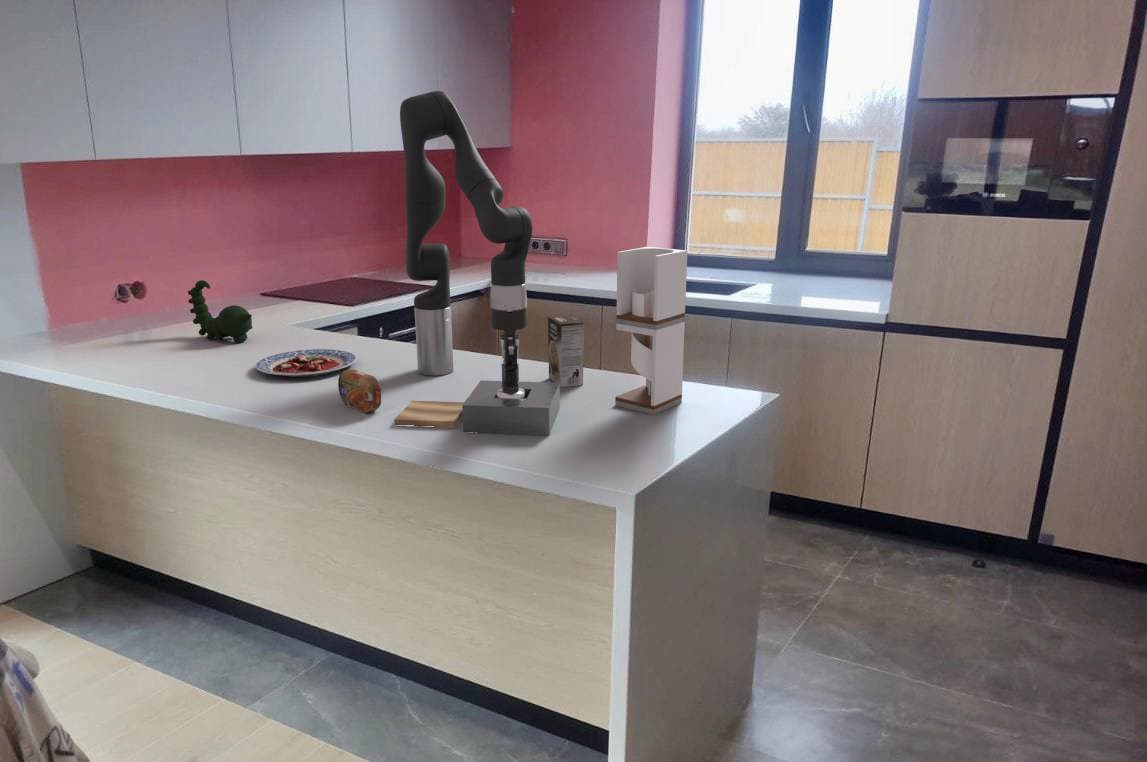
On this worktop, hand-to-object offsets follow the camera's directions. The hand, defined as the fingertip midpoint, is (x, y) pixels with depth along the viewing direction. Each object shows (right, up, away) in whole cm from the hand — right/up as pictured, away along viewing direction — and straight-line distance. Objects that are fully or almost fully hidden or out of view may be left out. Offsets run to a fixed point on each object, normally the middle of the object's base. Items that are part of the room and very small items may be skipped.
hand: (510, 383), depth 174 cm
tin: (-35, -6, +11) cm, 37 cm away
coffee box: (+12, 0, +30) cm, 32 cm away
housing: (+1, -8, +2) cm, 8 cm away
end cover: (0, -5, +1) cm, 5 cm away
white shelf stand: (+31, -5, +13) cm, 34 cm away
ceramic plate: (-57, +4, +43) cm, 72 cm away
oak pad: (-17, -7, +4) cm, 19 cm away
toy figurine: (-92, +13, +73) cm, 119 cm away
